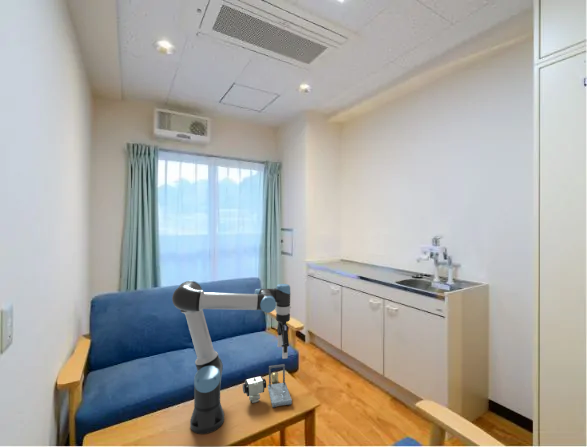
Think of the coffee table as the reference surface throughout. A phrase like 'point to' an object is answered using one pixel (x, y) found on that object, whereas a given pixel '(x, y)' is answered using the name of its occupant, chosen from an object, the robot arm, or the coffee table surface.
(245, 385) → the pneumatic valve
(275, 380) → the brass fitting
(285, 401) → the dolly
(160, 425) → the coffee table surface
